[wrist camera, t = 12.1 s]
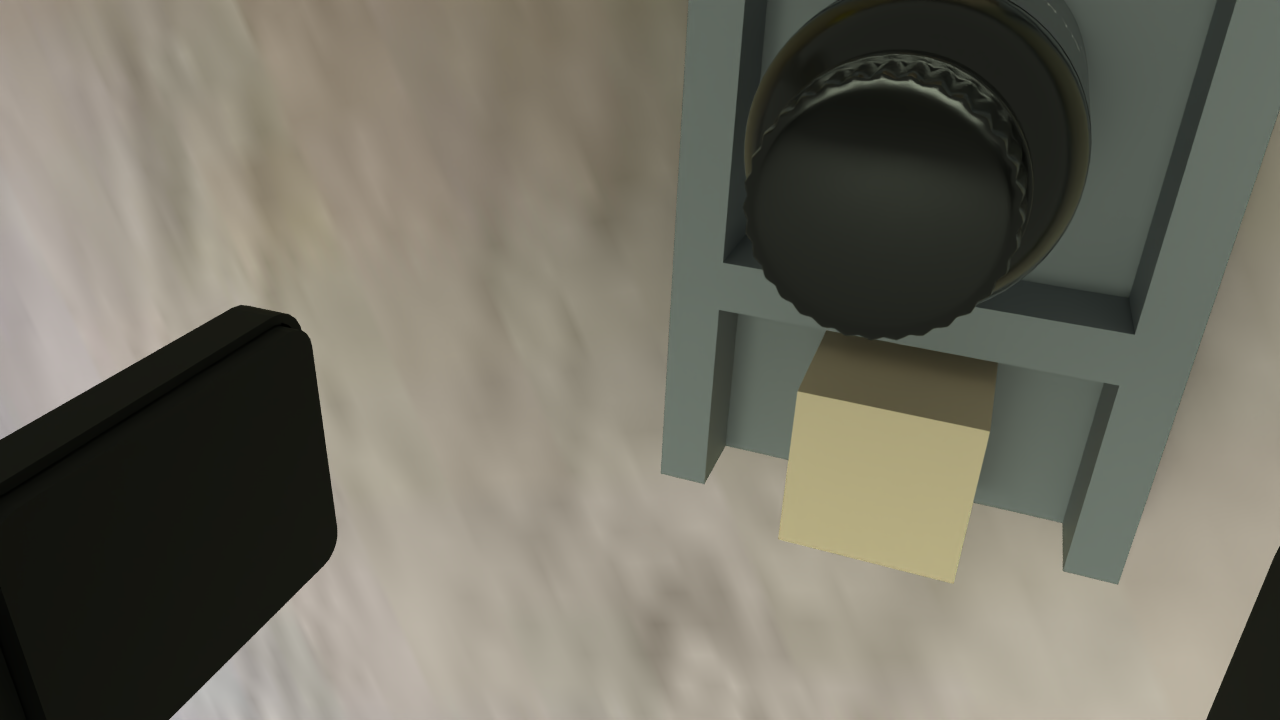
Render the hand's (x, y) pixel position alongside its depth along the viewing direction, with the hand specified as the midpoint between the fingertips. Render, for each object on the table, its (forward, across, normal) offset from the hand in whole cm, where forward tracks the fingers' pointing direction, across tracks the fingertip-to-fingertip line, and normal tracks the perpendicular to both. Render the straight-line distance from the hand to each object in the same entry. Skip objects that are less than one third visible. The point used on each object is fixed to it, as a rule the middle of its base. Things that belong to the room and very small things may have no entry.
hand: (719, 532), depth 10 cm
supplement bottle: (+21, 0, 0) cm, 21 cm away
